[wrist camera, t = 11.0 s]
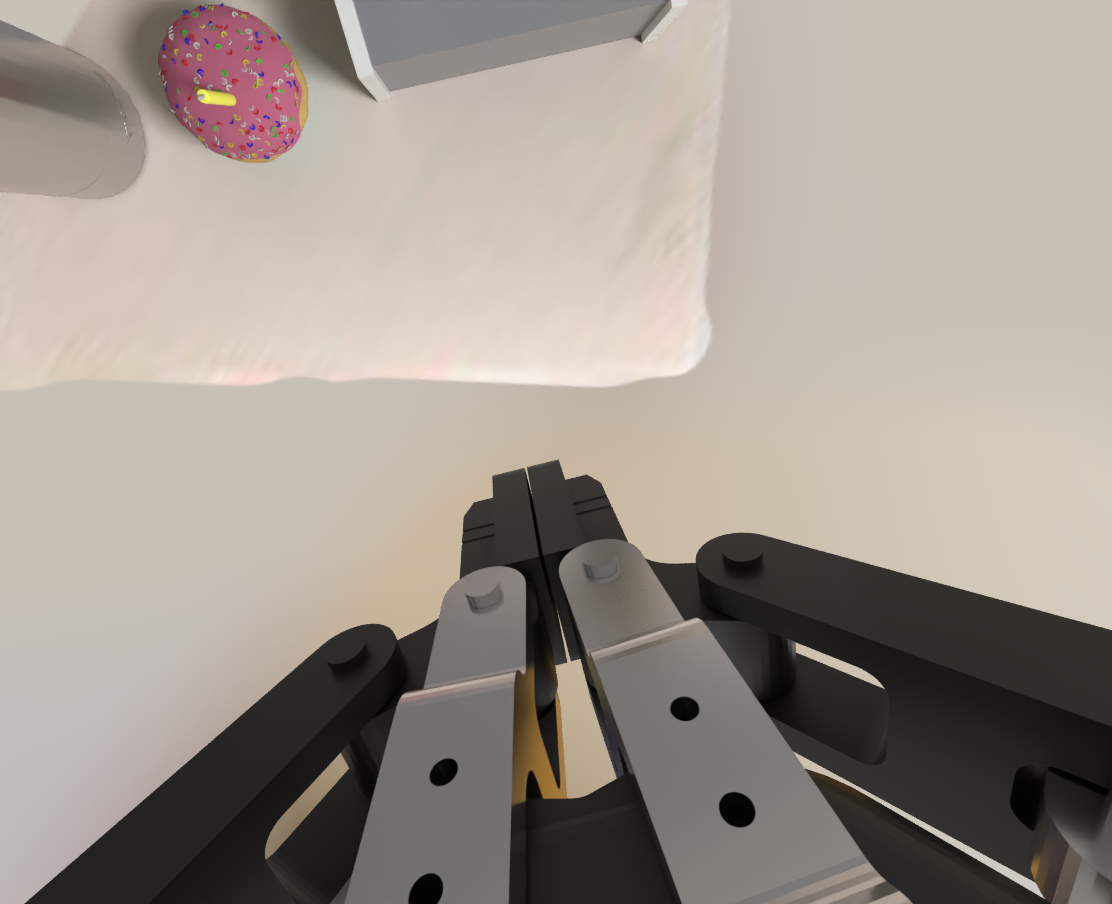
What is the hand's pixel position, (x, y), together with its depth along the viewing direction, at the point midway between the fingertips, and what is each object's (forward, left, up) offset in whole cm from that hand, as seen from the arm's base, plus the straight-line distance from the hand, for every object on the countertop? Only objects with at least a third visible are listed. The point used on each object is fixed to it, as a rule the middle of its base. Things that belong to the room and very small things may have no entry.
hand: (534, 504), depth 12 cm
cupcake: (-13, +17, -37) cm, 43 cm away
